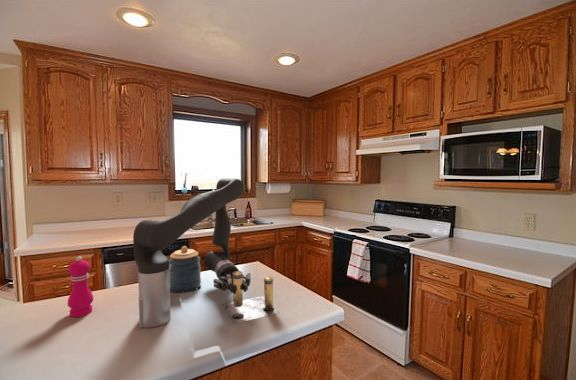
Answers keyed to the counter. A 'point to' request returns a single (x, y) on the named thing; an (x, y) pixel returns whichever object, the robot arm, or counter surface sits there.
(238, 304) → the loose brass leg
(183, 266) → the canister
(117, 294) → the counter surface
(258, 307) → the flange plate
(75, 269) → the pepper mill
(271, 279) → the fixed brass leg
